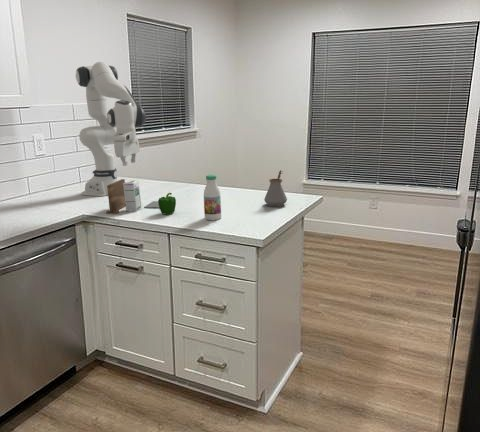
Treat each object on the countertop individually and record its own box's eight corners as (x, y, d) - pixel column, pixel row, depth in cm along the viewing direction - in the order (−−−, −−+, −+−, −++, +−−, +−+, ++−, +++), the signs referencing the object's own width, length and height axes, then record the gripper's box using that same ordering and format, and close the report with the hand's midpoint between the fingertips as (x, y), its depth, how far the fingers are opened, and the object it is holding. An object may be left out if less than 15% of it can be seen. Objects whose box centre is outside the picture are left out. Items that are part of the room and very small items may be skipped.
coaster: (144, 208, 230) (144, 206, 230) (153, 202, 242) (153, 201, 242) (166, 208, 228) (166, 207, 228) (174, 202, 239) (174, 201, 239)
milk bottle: (204, 216, 212) (202, 174, 207) (221, 215, 212) (219, 173, 207) (204, 221, 205) (202, 177, 199) (221, 220, 205) (220, 176, 200)
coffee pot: (284, 208, 222) (284, 178, 218) (262, 207, 225) (261, 177, 221) (291, 198, 242) (291, 170, 238) (270, 197, 245) (270, 169, 241)
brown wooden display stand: (105, 213, 222) (102, 185, 218) (120, 205, 237) (117, 179, 233) (117, 213, 221) (114, 185, 217) (131, 205, 236) (128, 179, 232)
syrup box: (136, 211, 224) (134, 182, 220) (125, 211, 225) (122, 182, 221) (141, 208, 230) (138, 180, 226) (130, 208, 231) (127, 180, 227)
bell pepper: (160, 216, 214) (158, 196, 211) (158, 212, 222) (156, 192, 219) (178, 214, 216) (176, 194, 213) (175, 210, 224) (174, 190, 221)
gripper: (129, 133, 228) (132, 160, 232) (110, 137, 209) (113, 167, 212) (141, 133, 227) (143, 160, 230) (123, 137, 207) (126, 167, 211)
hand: (129, 164), depth 221 cm, fingers open, 8 cm apart
